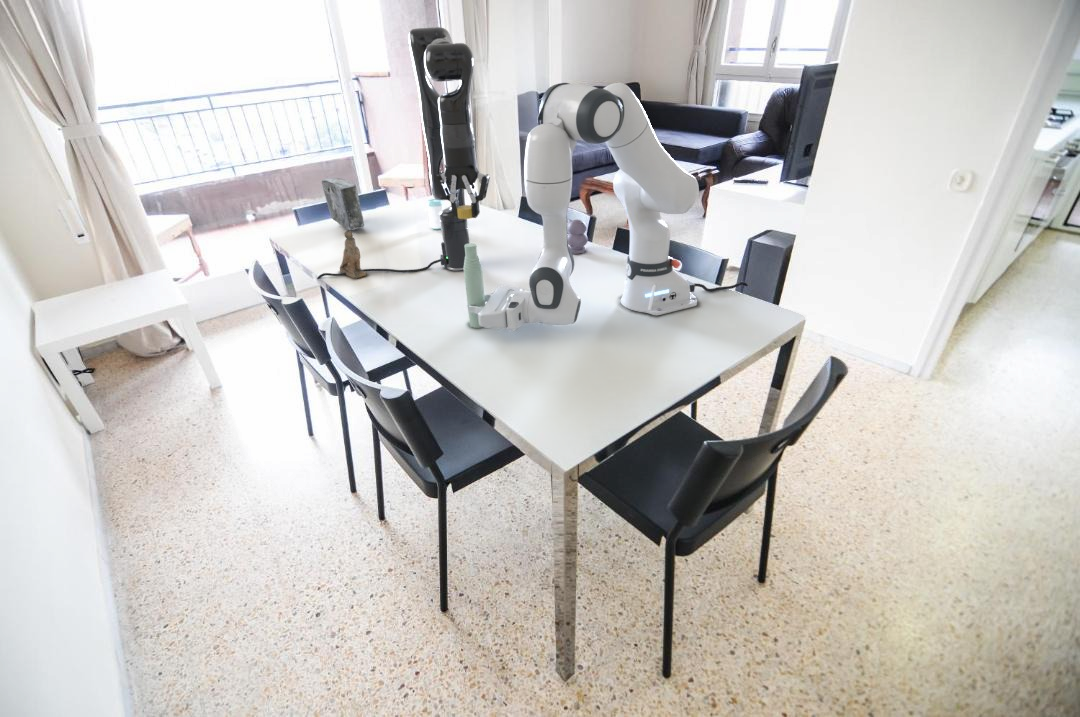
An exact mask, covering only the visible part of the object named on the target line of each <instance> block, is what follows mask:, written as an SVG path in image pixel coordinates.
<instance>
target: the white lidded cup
mask: <svg viewBox="0 0 1080 717" xmlns="http://www.w3.org/2000/svg"><path fill="white" fill-rule="evenodd" d="M426 207H427V211H428V212H427V213H428V219H429V226H430V228H431V229H433V230H442V229H441V223H440V212H441V211H442V210H444V209H445V205H444V202H443V201H439V200H436V199H435V198H432V199H428V201H427V204H426Z"/></svg>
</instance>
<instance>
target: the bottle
mask: <svg viewBox="0 0 1080 717" xmlns="http://www.w3.org/2000/svg"><path fill="white" fill-rule="evenodd" d="M464 247H465V255H466V256H465V260H464V261H465V262H464V270H463V275H464V276H463V277H464V285H465V294H466V303H467V310H468V311H467V312H468V320H469V327H471V328H473V329H481V328H483V327H482V326H480V325H479V320H478V314H476V313H471V312H469V306H470V305H471V304H472V305H476V306H477V307H481V306H483V307H484V305H485V304H486V302H485V297H484V295H485V287H484V277H483V267H482V264H481V261H480V258H479V255H478V250H477V244H476V243H474V242H470V243H468V244H465V246H464Z"/></svg>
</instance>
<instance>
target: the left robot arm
mask: <svg viewBox="0 0 1080 717" xmlns="http://www.w3.org/2000/svg"><path fill="white" fill-rule="evenodd" d="M408 44H409V51H410V58H411V61H412V67H413V72H414V77H415V81H416V85H417V93H418V98H419V107H420V116H421V117H420V118H421V123H422V131H423V136H424V142H425V146H426V152H427V158H428V159H427V161H428V170H429V172H428V173H429V182H430V189H431V194H432V196H433V199H436V200H439V201H442V202H443V201H447V202H450V206H448V207H445V208H444V210H442V211H441V212H440V223H441V229H440V230H441V235H442V242H441V243H440V246H441V250H442V251H441V253H442V254H440V258H439V259H437V260H433V261H431V262H429V264H428V265H427V266H424V267H421V268H416V269H392V268H364V269H363V268H361V269H362V270H364V271H365V273H366V272H392V273H417V272H422V271H426V270H429V268H431V267H432V266H433V265H434V264H437V263H440V266H443V267H444V269H445V270H449V271H454V272H459V271H464V262H465V261H464V260H465V256H466V255H465V247H464V246H465V244H468V243H471V242H470V234H469V224H468V219H460V218H458V215H457V207H459V206H463V205H466V197H465V196H466V195H465V190H466V192H467V194H468V195H469V198H470V200H471V203H470V205H471V208H472V217H473V218H472V219H477V217H479V215H480V212H481V211H480V202H482V201H483V200H485V198H486V197H487V192H488V190H489V189H488V188H489V183H490V179H491V176H490V174H488V173H487V174H484V173H481V172H480V171H479V169H478V166H477V155H476V146H475V144H476V139H475V135H474V129H473V125H472V116H471V106H470V105H471V104H470V103H471V101H470V96H471V95H470V94H471V85H472V78H473V73H474V66H475V64H474V63H475V60H474V54H473V52H472V49H471V48H470V47H469V45H468V44H466V43H464V42H455V43H454V42H453V39H452V36H451V34H450V32H449V31H448V30H447V29H446V28H444V27H440V26H434V27H418V28H412V29H411V30H410V31H409V33H408ZM430 79H431V80H432V81H434V82H456V81H458V85H457V87H456V88H455V89H454V90H453V91H449V92H446V93H443V94H440V93H439V92H438V91H437V89H436V88H435V86H434V85H433V83H432V82H431V80H430ZM443 161H444V166H445V168H444V170H441V166H442V163H443ZM477 179H478V180H479V181H478V183H479V184H480V187H479V192H478V188H477V185H476V181H477ZM325 276H328V277H329V276H330V277H341V276H347V275H346V273H341V272H339V273H331V272H323V273H321V274H319V275H318V276H317V278H316V279H317V280H320V279H322V278H323V277H325Z"/></svg>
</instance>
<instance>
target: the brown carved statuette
mask: <svg viewBox="0 0 1080 717" xmlns="http://www.w3.org/2000/svg"><path fill="white" fill-rule="evenodd" d="M343 236H344V238H346V239H345V240H344V249H343V253H342V254H343V255H342V261H341V264H340V266H339V273H346V275H345V276H347V277H350V278H352V279H356V280H357V279H360V278H362V277H366V276H367V273H366V272H365V271H364V270H362V269H363V268H361V252H360V249H359V247H358V246H357V244H356V243H357V242H356V239H355V237H354V234H353V230H346V231H345V232H344V234H343Z"/></svg>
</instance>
